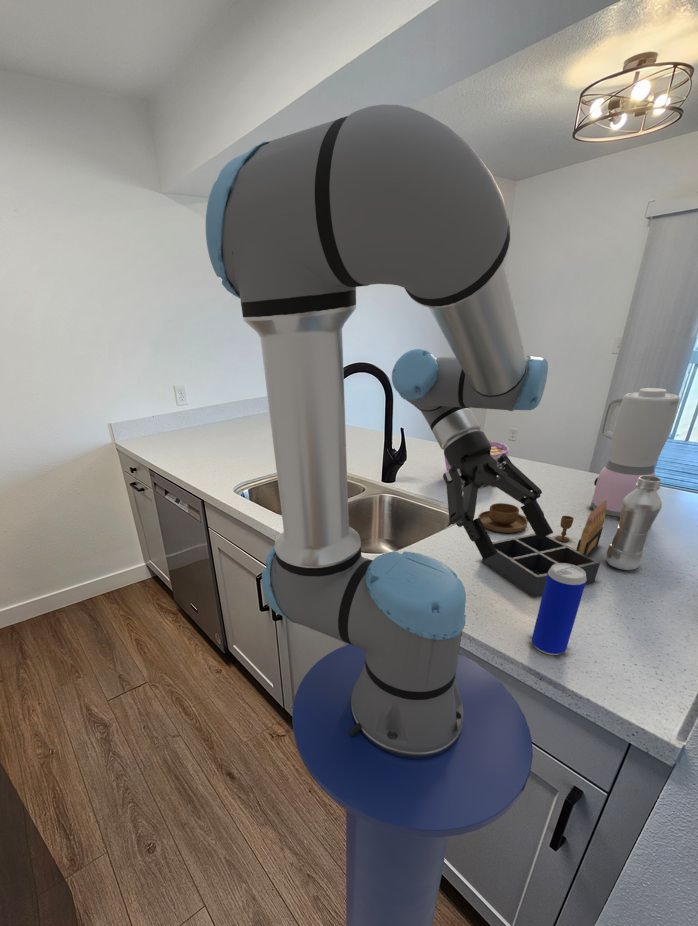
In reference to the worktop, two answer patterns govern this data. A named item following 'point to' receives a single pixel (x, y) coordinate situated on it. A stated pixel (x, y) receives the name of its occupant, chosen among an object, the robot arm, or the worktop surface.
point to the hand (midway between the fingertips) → (519, 546)
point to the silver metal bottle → (635, 524)
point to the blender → (633, 443)
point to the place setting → (514, 520)
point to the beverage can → (558, 608)
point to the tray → (536, 561)
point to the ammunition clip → (592, 530)
